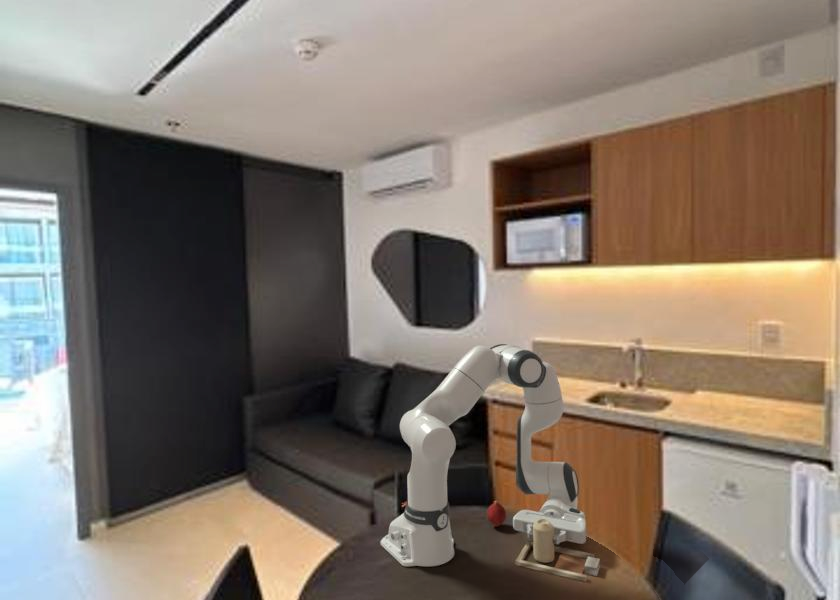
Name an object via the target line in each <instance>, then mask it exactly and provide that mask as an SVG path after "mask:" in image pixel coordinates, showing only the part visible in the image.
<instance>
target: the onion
mask: <svg viewBox="0 0 840 600" xmlns="http://www.w3.org/2000/svg"><path fill="white" fill-rule="evenodd" d="M486 517H487V520H488V521H489V522H490V523H491V524H492V525H493V526H494V527H496V528H497V527H499V526H501V525H503V523H504V522H505V521H506V519H507V513H506V509H505V507H504V506H503V505H502V504H501V503H499V502H498V501H497V500H495V501H493V503H492V504H490V506H488V508H487V510H486Z"/></svg>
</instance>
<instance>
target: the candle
mask: <svg viewBox="0 0 840 600" xmlns="http://www.w3.org/2000/svg"><path fill="white" fill-rule="evenodd" d="M553 536H554V526H553V525H552V524H551V523H550V522H548V521H547V520H546V519H540V520H538V521H537V522H536V523H534V524H533V539H532V540H533V547H532V548H533V550H532V551H533V553H532V554H533V558H534V560H535V561H537V562H539V563H543V564H544V563H545V564H546V563H547V564H548V563H551V562H554V560H555V552H554V546H555V544H554V543H553Z"/></svg>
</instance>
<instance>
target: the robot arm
mask: <svg viewBox="0 0 840 600" xmlns="http://www.w3.org/2000/svg"><path fill="white" fill-rule="evenodd" d="M496 379H499V380H501V381H503V382H504V383H505V384H510V385H513V386H516V387H519V388H522V390H523V397H524V402H525V405H524V406H525V407H524V410H523V413H521V414H519V416H518V419H517V424H516V467H515V484H516V487H517V488H518V489H519V490H520V491H521V492H522V493H523V494H524V495H549V496H548V497H547V499H546V501H545V502H544V503H543V505H542V506H541V508H540V509H539V511H536V510H530V509H521V510H520V511H517V513H516V514H515V515H514V516H512V517H513V518H512V527H513V529H514V531H517V532H521V533H527V539H531V540H533V524H534V523H536V522H537V521H538V520H540V519H546V520H547V521H548V522H550V523H551V524H552V525H553V526H554V536H553V543H554V545H560V543H562V542H568V543H569V542H570V543H575V544H578V545H582V544H585V543H586V541H587V523H586V515H585V512H583V511H581V510H579V509H578V500H579V499H578V495H579V490H580V489H579V487H580V484H579V479H578V475H577V472H576V471H575V469H574V468H573V466H572V465H570V463H568V462H565V461H536V460H534V459H532V436H533V435H535V434H536V433H538V432H541V431H543V430H545V429H548V428H550V427H552V426H554V425H555V424H556V423H557V422H559V421H560V420H561V418H562V416H563V413H564V403H563V397H562V390H561V386H560V382H559V379H558V375H557V374H556V371H555V368H554V367H553V365H552V364H550V362H549V363H548V362H546V361H542V359H541V358H540V357H539V356H538V355H537V354H536V353H535V352H533V351H532V350H528V349H524V348H522V347H520V346H517V345H511V344H504V343H500V344H496V345H493V346H491V347H488V346H485V345H475V346H474V347H472V348H471V349H470V350H469V351H468V352H466V353H465V355H463V357H461V358H460V360H458V362H457V363H456V364H455V365H454V366H453V368H451V371H450V372H449V373H448V375H446V376H445V378H444V379H443V381H441V383H440V384H439V385H438V386H437V387H436V388H435V390H434V391H433V392H432V393H430V394H429V395H428V396H427V397H426V398H425V399H423V400H422V401H421V402H420V403H419V404H418V405H417V406H415V407H414V408H413V409H411V410H408V411H407V412H405V413H404V414H403V416H402V417H401V419H400V422H399V431H400V434H401V438H402V439H403V441H404V442H405V443H406V445H407V446H408V447H409V448H410V451H411V462H410V464H411V465H410V469H409V472H408V473H407V477H406V478H407V479H406V480H407V482H406V483H407V484H406V485H407V500H406V501H404V502H402V503H401V504H402V505H401V507H402V508H403V507H404V512H403V513H402V514H401V515H399V516H397V517H396V518H394V519H393V520H392V521H391V522H390V524H389V527H388V534H386V535H385V536H384V537H382V539H381V540H380V544H379V545H380V546H381V547H382V548H384V549H385V550H386V551H387V552H388V553H389V554H390V555H391V556H392V557H393V558H394V559H395V560H396V561H397V562H398V563H399V564H401V566H403V567H416V566H418V567H437V566H440V565H443V564H446V563H448V562H449V561H451V560H452V559H453V558H454V556H455V553H456V552H455V548H454V544H455V542H454V538H453V537H452V529H451V521H450V503H449V501H448V481H447V480H448V470H449V465H450V460H451V458H452V457H453V454H454V453H455V450H456V445H457V442H456V438H455V436H454V433H453V432H452V430H451V428H450V426H451V425H452V424H453V423H454V422H455V421H457V420H458V419H460V418H461V417H464V416H466V415H467V414H469V412H470V411H471V410H472V409H473V407H474V406H475V404H476V403H477V402H478V401H479V399H480V398H481V396H482V395H483V394H484V393H485V391H486V390H487V389H488V387H489V386H490V384H492V382H493V381H495V380H496Z"/></svg>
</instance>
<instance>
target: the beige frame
mask: <svg viewBox="0 0 840 600" xmlns="http://www.w3.org/2000/svg"><path fill="white" fill-rule="evenodd" d="M531 548H533V541H532V540H529V539H528V540H527V542H526V543H525V545H524V547H523V548H522V550H521V551H520V552H519V555H518V556H517V558H516V559H515V561H514V565H515V566H517V567H518V566H519V567H523V568H527V569H531V570H536V571H540V572H544V573H548V574H553V575H556V576H560V577H565V578H568V579H573V580H577V581H580V582H581V581H582V582H587V581H588V575H590V576H595V577H597V576H598V573H599V570H600V568H601V559H600V558H597V557H595V554H594V553H589V552H585V551H581V550H574V549H572V548H571V549H570V548H567V547H562V546H557V545H554V553H559V554H560V555H559V556H558V559H557V561H556V563H555V565H554V566H553V567H552V566H548V565H544V564H540V563H535V562H531V561H527V560H524V559H525V558H526V557H527V555H528V553H529V551H530V549H531ZM583 572H584V574H583ZM586 574H587V575H586Z"/></svg>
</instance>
